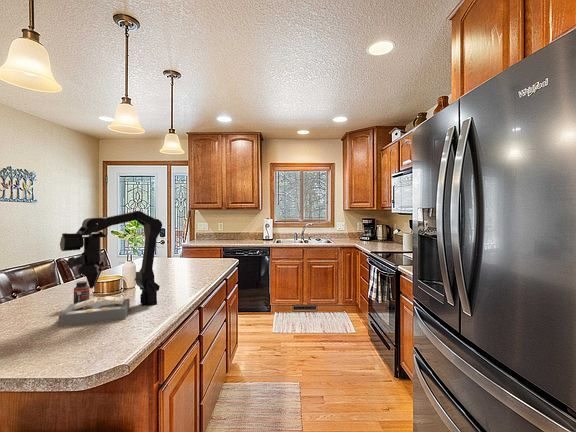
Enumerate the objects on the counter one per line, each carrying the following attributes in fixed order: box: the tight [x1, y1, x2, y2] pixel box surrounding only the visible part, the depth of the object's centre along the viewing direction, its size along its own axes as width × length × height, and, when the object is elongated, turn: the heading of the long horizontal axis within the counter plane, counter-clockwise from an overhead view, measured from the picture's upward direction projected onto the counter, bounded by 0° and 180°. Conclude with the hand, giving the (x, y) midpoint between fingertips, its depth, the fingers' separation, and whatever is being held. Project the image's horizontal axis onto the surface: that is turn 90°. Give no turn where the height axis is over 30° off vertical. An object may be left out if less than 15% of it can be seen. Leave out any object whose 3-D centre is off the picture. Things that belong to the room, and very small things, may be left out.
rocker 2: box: [103, 295, 125, 305], centre depth 127 cm, size 7×5×1 cm
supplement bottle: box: [73, 280, 91, 304], centre depth 137 cm, size 6×6×11 cm
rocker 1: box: [74, 296, 98, 309], centre depth 124 cm, size 7×5×1 cm
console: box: [58, 298, 131, 327], centre depth 125 cm, size 22×16×5 cm
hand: (92, 287), depth 124 cm, fingers open, 4 cm apart
